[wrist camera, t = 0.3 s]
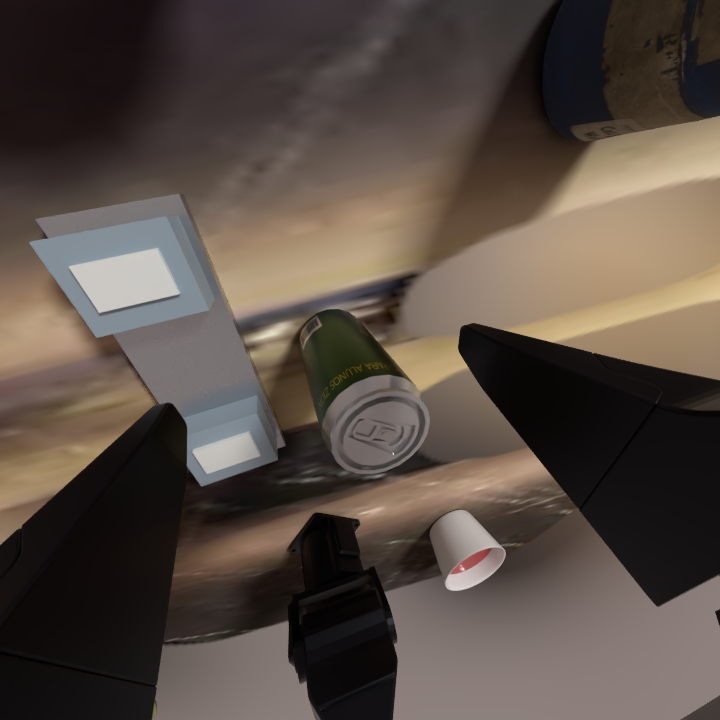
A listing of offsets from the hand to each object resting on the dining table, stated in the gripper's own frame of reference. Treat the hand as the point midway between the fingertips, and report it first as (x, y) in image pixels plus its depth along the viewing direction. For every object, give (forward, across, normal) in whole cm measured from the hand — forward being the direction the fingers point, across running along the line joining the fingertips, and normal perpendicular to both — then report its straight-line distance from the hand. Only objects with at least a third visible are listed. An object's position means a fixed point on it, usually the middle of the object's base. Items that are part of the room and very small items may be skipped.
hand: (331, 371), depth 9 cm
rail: (+13, +8, +6) cm, 17 cm away
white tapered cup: (+9, -13, +41) cm, 44 cm away
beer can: (+13, -2, +7) cm, 15 cm away
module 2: (+12, +8, +12) cm, 19 cm away
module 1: (+13, +8, -1) cm, 15 cm away
